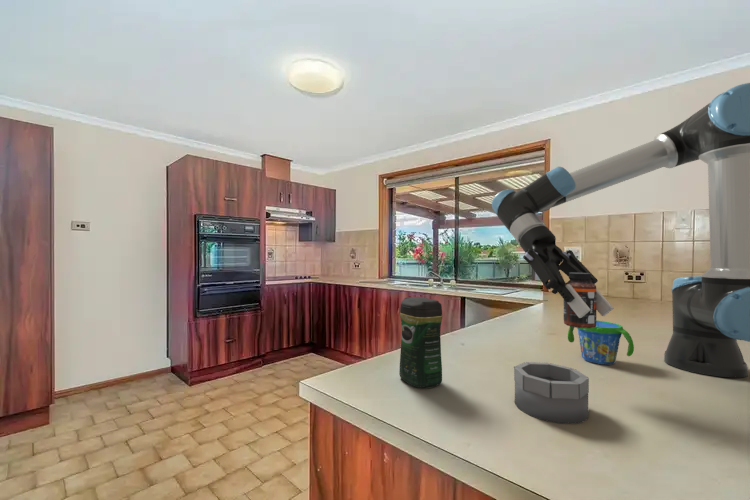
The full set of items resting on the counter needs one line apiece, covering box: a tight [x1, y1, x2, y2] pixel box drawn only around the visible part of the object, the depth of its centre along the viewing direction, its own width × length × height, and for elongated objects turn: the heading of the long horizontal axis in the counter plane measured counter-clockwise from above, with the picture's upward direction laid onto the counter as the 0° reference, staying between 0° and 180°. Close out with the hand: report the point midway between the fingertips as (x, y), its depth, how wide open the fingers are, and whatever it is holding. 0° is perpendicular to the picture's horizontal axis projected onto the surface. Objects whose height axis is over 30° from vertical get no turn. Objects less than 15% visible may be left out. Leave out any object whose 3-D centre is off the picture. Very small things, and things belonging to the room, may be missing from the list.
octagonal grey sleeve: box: [513, 361, 590, 425], centre depth 62 cm, size 12×12×6 cm
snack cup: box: [567, 319, 635, 366], centre depth 90 cm, size 16×10×10 cm
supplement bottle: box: [563, 272, 597, 329], centre depth 71 cm, size 6×6×11 cm
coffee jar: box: [398, 296, 444, 389], centre depth 74 cm, size 10×8×19 cm
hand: (596, 312), depth 67 cm, fingers closed on supplement bottle, 6 cm apart
